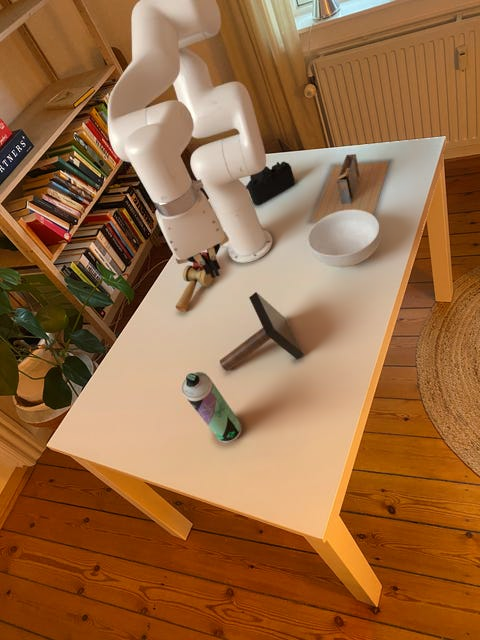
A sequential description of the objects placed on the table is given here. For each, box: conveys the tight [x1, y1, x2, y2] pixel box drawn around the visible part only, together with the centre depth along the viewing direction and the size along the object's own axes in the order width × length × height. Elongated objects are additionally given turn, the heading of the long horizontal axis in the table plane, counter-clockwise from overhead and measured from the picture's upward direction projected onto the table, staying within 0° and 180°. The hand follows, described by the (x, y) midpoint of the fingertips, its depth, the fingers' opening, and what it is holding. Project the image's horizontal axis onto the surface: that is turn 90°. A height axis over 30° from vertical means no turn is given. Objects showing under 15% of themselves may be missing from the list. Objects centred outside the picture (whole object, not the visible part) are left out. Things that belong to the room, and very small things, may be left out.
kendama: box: [175, 251, 213, 313], centre depth 129 cm, size 8×6×18 cm
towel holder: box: [219, 291, 305, 372], centre depth 105 cm, size 18×12×12 cm
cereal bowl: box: [307, 210, 381, 268], centre depth 118 cm, size 17×17×7 cm
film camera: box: [245, 161, 296, 206], centre depth 145 cm, size 15×10×9 cm, turn 114°
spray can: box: [181, 371, 243, 444], centre depth 92 cm, size 6×6×20 cm
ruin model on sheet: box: [311, 153, 391, 222], centre depth 132 cm, size 25×16×10 cm, turn 159°
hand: (214, 273), depth 96 cm, fingers closed
